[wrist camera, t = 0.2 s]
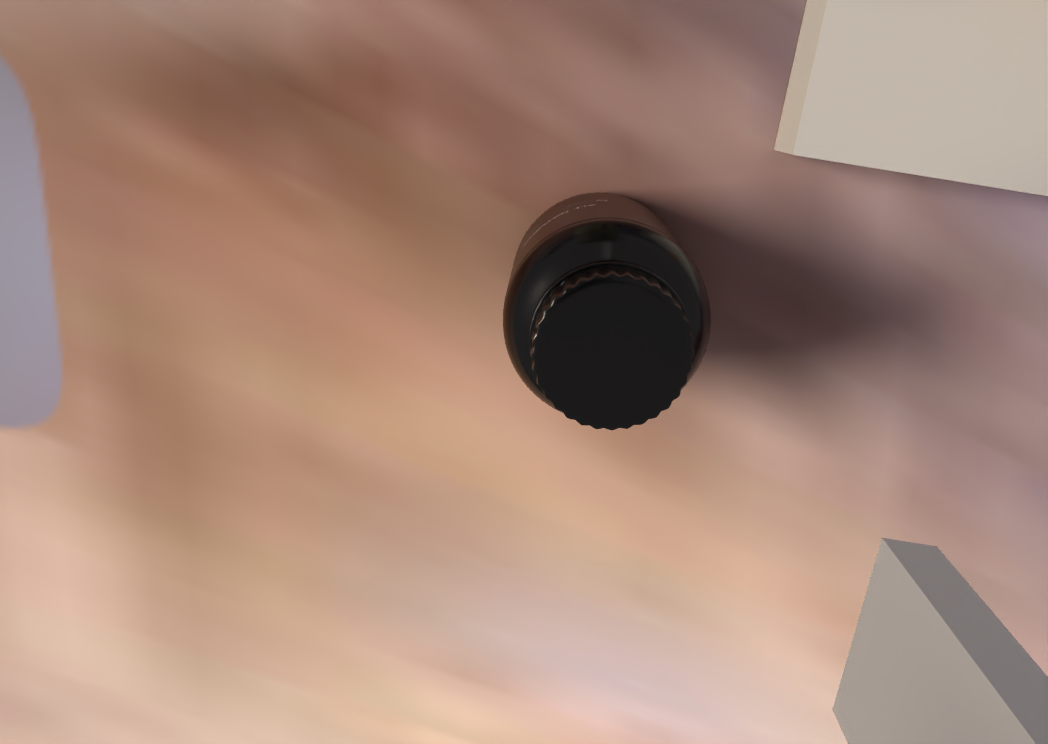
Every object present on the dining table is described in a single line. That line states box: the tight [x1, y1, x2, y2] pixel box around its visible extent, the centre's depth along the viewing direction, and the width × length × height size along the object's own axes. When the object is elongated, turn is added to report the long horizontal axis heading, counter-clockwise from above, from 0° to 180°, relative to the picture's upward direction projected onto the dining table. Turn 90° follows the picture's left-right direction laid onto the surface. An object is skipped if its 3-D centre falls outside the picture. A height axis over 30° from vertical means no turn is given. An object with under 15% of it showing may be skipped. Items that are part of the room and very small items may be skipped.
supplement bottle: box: [503, 193, 711, 430], centre depth 34 cm, size 7×7×12 cm
